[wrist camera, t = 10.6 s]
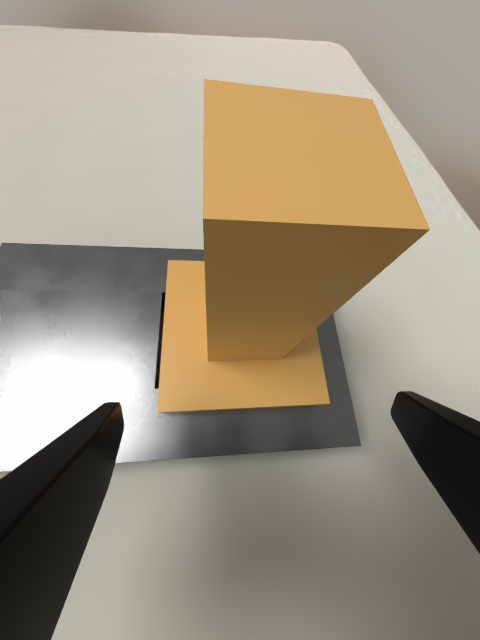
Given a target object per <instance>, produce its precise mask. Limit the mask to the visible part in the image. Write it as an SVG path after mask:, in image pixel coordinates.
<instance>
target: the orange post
mask: <svg viewBox="0 0 480 640" xmlns="http://www.w3.org/2000/svg"><path fill="white" fill-rule="evenodd" d="M429 230H430V229H429V226H428V224H427V222H426V220H425V217H424V215H423V213H422V211H421V208H420V206H419V204H418V201H417V199H416V197H415V195H414V192H413V190H412V188H411V186H410V183H409V181H408V179H407V177H406V174H405V172H404V170H403V168H402V165H401V163H400V161H399V159H398V156H397V154H396V152H395V150H394V147H393V145H392V143H391V141H390V138H389V136H388V134H387V132H386V129H385V127H384V125H383V123H382V120H381V118H380V116H379V114H378V111H377V109H376V107H375V105H374V102H373V100H372V99H366V98H357V97H349V96H341V95H332V94H324V93H316V92H307V91H299V90H291V89H282V88H274V87H266V86H257V85H249V84H241V83H232V82H224V81H216V80H207V79H204V163H203V231H204V261H182V260H168V268H167V282H166V295H165V309H164V323H163V337H162V350H161V364H160V378H159V392H158V405H157V412H158V413H179V412H198V411H218V410H238V409H257V408H277V407H297V406H316V405H324V404H330V401H329V395H328V390H327V384H326V379H325V373H324V368H323V362H322V357H321V351H320V346H319V340H318V335H317V329H316V328H317V327H318V326H319V325H320V324H322V323H323V322H324V321H325V320H326V319H327V318H328V317H330V316H331V315H332V314H333V313H334V312H335V311H337V310H338V309H339V308H340V307H341V306H342V305H343V304H345V303H346V302H347V301H348V300H349V299H350V298H352V297H353V296H354V295H355V294H356V293H357V292H358V291H360V290H361V289H362V288H363V287H364V286H365V285H367V284H368V283H369V282H370V281H371V280H372V279H373V278H375V277H376V276H377V275H378V274H379V273H380V272H382V271H383V270H384V269H385V268H386V267H387V266H388V265H390V264H391V263H392V262H393V261H394V260H395V259H397V258H398V257H399V256H400V255H401V254H402V253H403V252H405V251H406V250H407V249H408V248H409V247H410V246H411V245H413V244H414V243H415V242H416V241H417V240H418V239H420V238H421V237H422V236H423V235H424V234H425V233H426V232H428V231H429Z"/></svg>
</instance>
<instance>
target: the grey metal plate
mask: <svg viewBox="0 0 480 640" xmlns="http://www.w3.org/2000/svg"><path fill="white" fill-rule="evenodd" d="M168 260H182V261H204V250H196V249H166V248H137V247H108V246H79V245H50V244H21V243H2V244H1V247H0V471H11V470H14V469H15V468H16V467H18V466H19V465H20V464H22V463H23V462H25V461H26V460H27V459H29V458H30V457H31V456H33V455H34V454H35V453H37V452H38V451H39V450H41V449H42V448H44V447H45V446H46V445H48V444H49V443H50V442H52V441H53V440H54V439H56V438H57V437H58V436H60V435H61V434H63V433H64V432H65V431H67V430H68V429H69V428H71V427H72V426H73V425H75V424H76V423H77V422H79V421H80V420H82V419H83V418H84V417H86V416H87V415H88V414H90V413H91V412H92V411H94V410H95V409H96V408H98V407H99V406H101V405H102V404H103V403H106V402H119V403H120V404H121V407H122V413H123V419H124V432H123V435H122V439H121V443H120V447H119V450H118V454H117V458H116V462H115V463H124V462H138V461H152V460H166V459H180V458H194V457H208V456H222V455H236V454H250V453H264V452H278V451H292V450H306V449H320V448H334V447H348V446H361V444H360V439H359V434H358V430H357V425H356V420H355V416H354V411H353V406H352V401H351V397H350V392H349V387H348V383H347V378H346V373H345V368H344V364H343V359H342V354H341V350H340V345H339V340H338V335H337V331H336V326H335V321H334V317H333V314H332V315H331V316H330V317H328V318H327V319H326V320H325V321H324V322H323V323H322V324H320V325H319V326H318V327H317V328H316V329H317V335H318V340H319V346H320V351H321V357H322V362H323V368H324V373H325V379H326V384H327V390H328V395H329V401H330V404H324V405H316V406H297V407H277V408H257V409H238V410H218V411H198V412H179V413H158V412H157V405H158V392H159V378H160V364H161V350H162V337H163V323H164V309H165V295H166V282H167V268H168Z"/></svg>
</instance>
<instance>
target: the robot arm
mask: <svg viewBox="0 0 480 640" xmlns="http://www.w3.org/2000/svg"><path fill="white" fill-rule="evenodd" d="M391 416H392V419H393V421H394V422H395V424H396V426H397V428H398V429H399V431H400V433H401V435H402V436H403V438H404V440H405V442H406V443H407V445H408V447H409V449H410V450H411V452H412V454H413V456H414V457H415V459H416V461H417V462H418V464H419V465H420V467H421V468H422V470H423V471H424V473H425V474H426V476H427V477H428V479H429V480H430V482H431V483H432V485H433V486H434V488H435V489H436V490H437V492H438V493H439V495H440V496H441V498H442V499H443V501H444V502H445V504H446V505H447V507H448V508H449V510H450V511H451V512H452V514H453V515H454V517H455V518H456V520H457V521H458V523H459V524H460V526H461V527H462V529H463V530H464V532H465V533H466V534H467V536H468V537H469V539H470V540H471V542H472V543H473V545H474V546H475V548H476V549H477V551H478V552H479V554H480V422H479V421H477V420H475V419H473V418H470V417H468V416H466V415H464V414H461V413H459V412H457V411H455V410H452V409H450V408H448V407H446V406H443V405H441V404H439V403H437V402H434V401H432V400H430V399H428V398H425V397H423V396H421V395H419V394H416V393H414V392H411V391H401V392H398V393H397V394H396V397H395V400H394V402H393V405H392V408H391ZM123 432H124V419H123V413H122V407H121V404H120V403H119V402H106V403H103V404H102V405H101V406H99V407H98V408H96V409H95V410H94V411H92V412H91V413H90V414H88V415H87V416H86V417H84V418H83V419H82V420H80V421H79V422H77V423H76V424H75V425H73V426H72V427H71V428H69V429H68V430H67V431H65V432H64V433H63V434H61V435H60V436H58V437H57V438H56V439H54V440H53V441H52V442H50V443H49V444H48V445H46V446H45V447H44V448H42V449H41V450H39V451H38V452H37V453H35V454H34V455H33V456H31V457H30V458H29V459H27V460H26V461H25V462H23V463H22V464H20V465H19V466H18V467H16V468H15V469H14V470H12V471H11V472H10V473H8V474H7V475H6V476H4V477H3V478H1V479H0V640H51V638H52V635H53V633H54V630H55V627H56V625H57V622H58V620H59V617H60V614H61V612H62V609H63V606H64V604H65V601H66V598H67V596H68V593H69V590H70V588H71V585H72V583H73V580H74V577H75V575H76V572H77V569H78V567H79V564H80V561H81V559H82V556H83V553H84V551H85V548H86V546H87V543H88V540H89V538H90V535H91V532H92V530H93V527H94V524H95V522H96V519H97V516H98V514H99V511H100V509H101V506H102V503H103V501H104V498H105V495H106V492H107V490H108V487H109V484H110V480H111V477H112V473H113V469H114V465H115V462H116V458H117V454H118V450H119V447H120V443H121V439H122V435H123Z"/></svg>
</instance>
